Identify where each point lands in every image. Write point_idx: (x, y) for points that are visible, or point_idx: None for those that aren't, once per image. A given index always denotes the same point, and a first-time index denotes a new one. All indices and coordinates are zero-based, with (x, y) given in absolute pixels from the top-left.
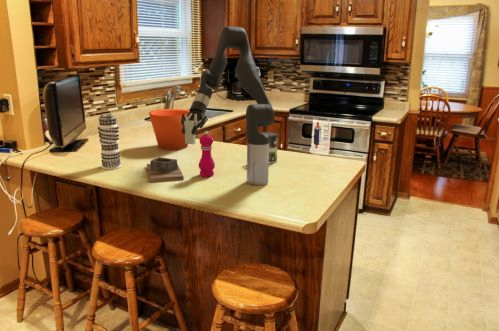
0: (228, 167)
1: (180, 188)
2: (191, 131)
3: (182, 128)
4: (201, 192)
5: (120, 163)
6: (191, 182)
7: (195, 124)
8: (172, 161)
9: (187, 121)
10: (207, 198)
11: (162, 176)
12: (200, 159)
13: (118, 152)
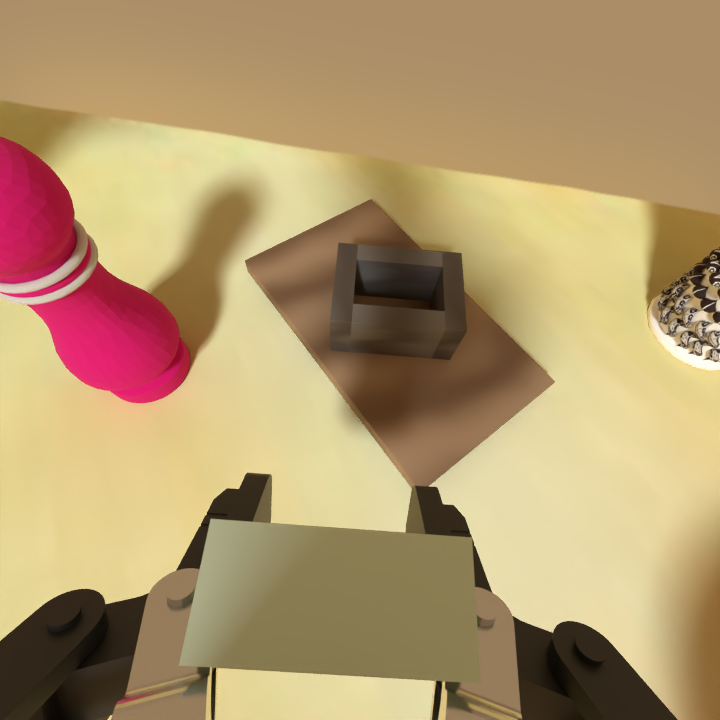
0: (20, 586)
1: (219, 189)
2: (265, 480)
3: (473, 546)
4: (122, 176)
5: (680, 343)
6: (198, 252)
7: (178, 593)
8: (335, 278)
9: (377, 533)
10: (87, 140)
11: (339, 234)
12: (142, 299)
13: None
